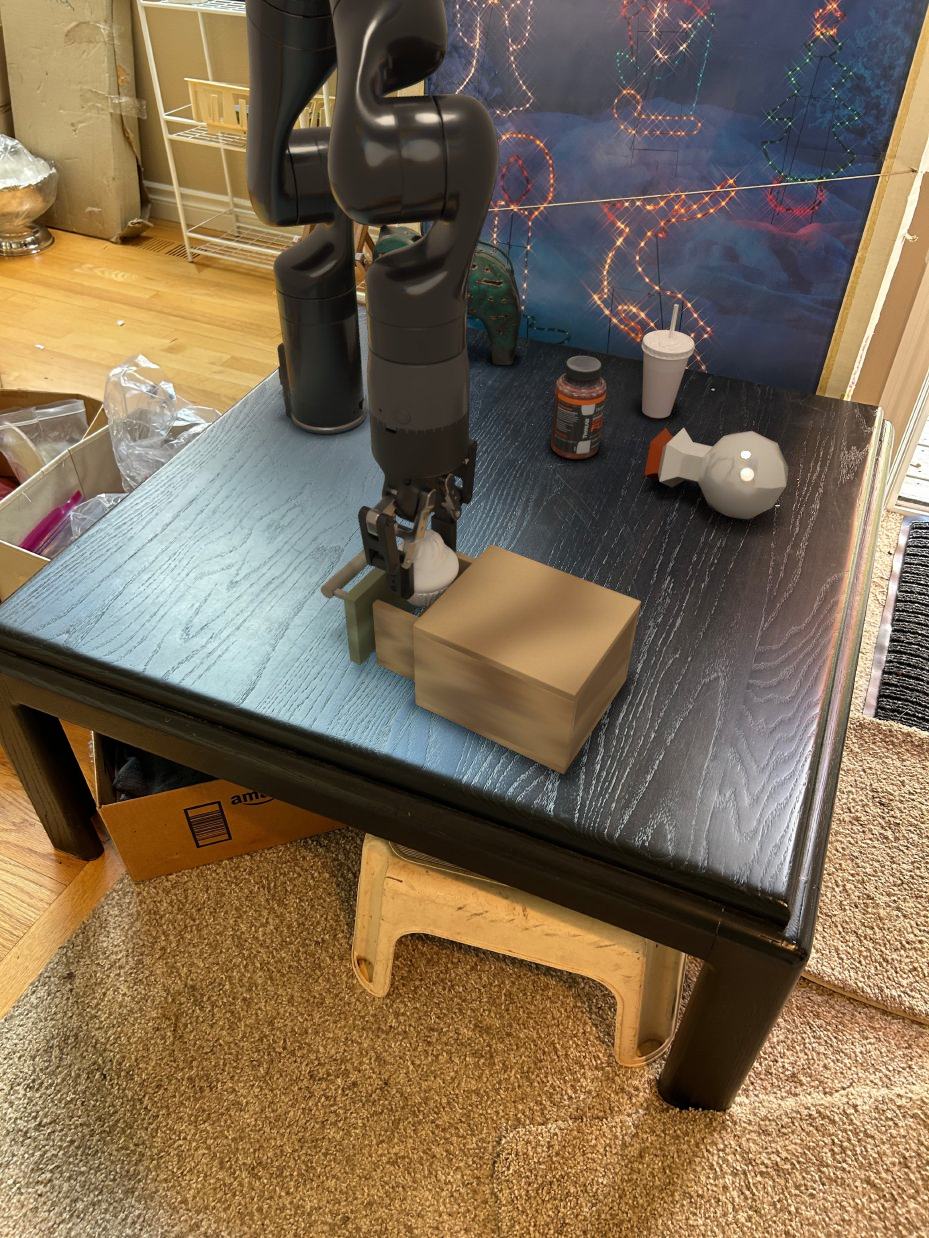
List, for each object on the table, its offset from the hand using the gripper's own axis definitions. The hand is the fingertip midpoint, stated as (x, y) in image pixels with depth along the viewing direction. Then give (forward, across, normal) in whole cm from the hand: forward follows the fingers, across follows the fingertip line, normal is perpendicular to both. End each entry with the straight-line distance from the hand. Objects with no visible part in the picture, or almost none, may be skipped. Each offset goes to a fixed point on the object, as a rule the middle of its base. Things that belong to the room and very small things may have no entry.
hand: (423, 572), depth 78 cm
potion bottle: (+9, -37, +14) cm, 41 cm away
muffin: (+3, 0, 0) cm, 3 cm away
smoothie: (+9, -53, +2) cm, 54 cm away
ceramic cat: (+10, -52, -30) cm, 60 cm away
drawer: (+8, 0, 0) cm, 8 cm away
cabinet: (+9, 0, +10) cm, 14 cm away
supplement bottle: (+9, -39, -4) cm, 40 cm away
